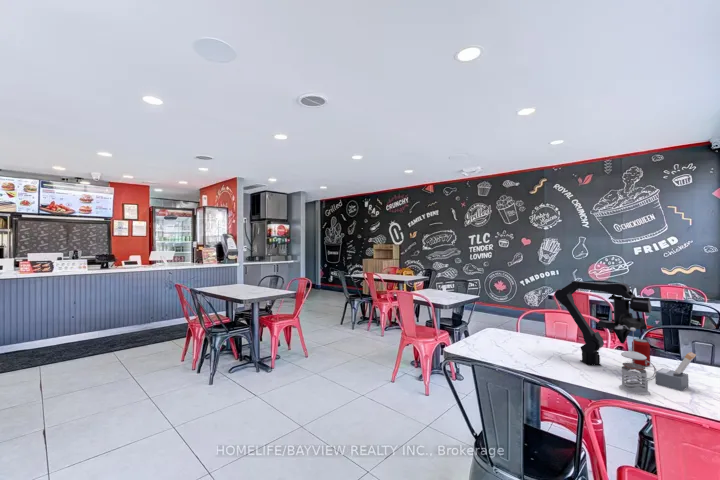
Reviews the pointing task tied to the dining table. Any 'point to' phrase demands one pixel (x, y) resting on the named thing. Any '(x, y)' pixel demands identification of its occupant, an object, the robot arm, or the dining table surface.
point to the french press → (635, 373)
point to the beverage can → (642, 351)
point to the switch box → (672, 379)
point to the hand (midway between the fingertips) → (622, 343)
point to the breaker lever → (685, 362)
